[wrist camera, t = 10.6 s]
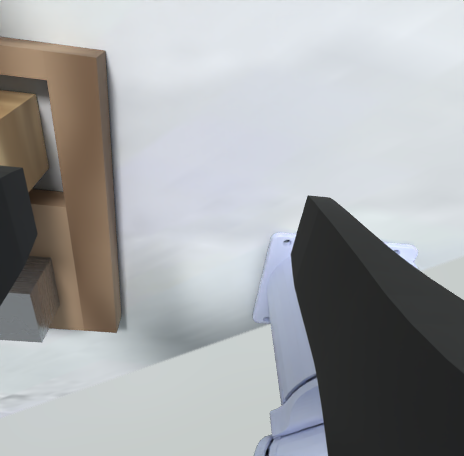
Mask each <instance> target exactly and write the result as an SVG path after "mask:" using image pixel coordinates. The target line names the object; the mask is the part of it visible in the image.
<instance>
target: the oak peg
mask: <svg viewBox="0 0 464 456" xmlns="http://www.w3.org/2000/svg"><path fill="white" fill-rule="evenodd" d="M0 165H1V166H11V167H21V168H23V170H24V175H25V179H26V184H27V188H28V193H29V191H30V190H31V189H32V188H33V187H34V186H35V184H36V183H37V182H38V181H39V180H40V178H41V177H42V176H43V175H44V174H45V172H46V171H47V170H48V169H49V165H48V159H47V154H46V148H45V142H44V137H43V131H42V125H41V120H40V114H39V109H38V103H37V97H36V94H32V93H23V92H14V91H6V90H0Z"/></svg>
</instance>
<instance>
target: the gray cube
mask: <svg viewBox="0 0 464 456" xmlns="http://www.w3.org/2000/svg"><path fill="white" fill-rule="evenodd" d="M59 306H60V301H59V295H58V290H57V285H56V280H55V275H54V270H53V265H52V260H51V258H50V257H38V256H29V257H28V259H27V261H26V264H25V266H24V268H23V270H22V271H21V273H20V275H19V276H18V278H17V280H16V281H15V283H14V285H13V286H12V288H11V290H10V291H9V293H8V295H7V296H6V298H5V299H4V301H3V303H2V304H1V306H0V340H12V341H28V342H43V339H44V337H45V335H46V333H47V331H48V329H49V327H50V325H51V323H52V321H53V318H54V316H55V314H56V312H57V310H58V308H59Z"/></svg>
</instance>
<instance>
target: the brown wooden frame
mask: <svg viewBox="0 0 464 456" xmlns="http://www.w3.org/2000/svg"><path fill="white" fill-rule="evenodd" d="M0 74H1V75H9V76H17V77H25V78H33V79H41V80H47V85H48V91H49V98H50V105H51V111H52V118H53V125H54V131H55V138H56V145H57V151H58V158H59V165H60V171H61V178H62V185H63V191H64V192H58V191H48V190H38V189H31V190H30V191H29V197H30V202H31V206H32V211H33V215H34V220H35V224H36V229H37V233H38V234H37V237H36V240H35V242H34V245H33V247H32V250H31V252H30V255H29V256H38V257H50V258H51V260H52V265H53V270H54V275H55V280H56V285H57V290H58V295H59V301H60V306H59V308H58V310H57V312H56V314H55V316H54V318H53V321H52V323H51V325H50V327H49V328H54V329H69V330H84V331H98V332H113V333H117V330H118V326H119V323H120V319H121V302H120V285H119V268H118V252H117V235H116V219H115V202H114V186H113V169H112V152H111V136H110V119H109V103H108V86H107V70H106V53H105V51H103V50H95V49H88V48H81V47H73V46H66V45H58V44H51V43H43V42H36V41H29V40H21V39H14V38H6V37H0Z"/></svg>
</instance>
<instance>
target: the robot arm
mask: <svg viewBox="0 0 464 456" xmlns="http://www.w3.org/2000/svg"><path fill="white" fill-rule="evenodd" d="M37 234H38V233H37V229H36V224H35V220H34V215H33V211H32V206H31V202H30V197H29V193H28V188H27V184H26V179H25V175H24V170H23V168H21V167H11V166H1V165H0V306H1V304H2V303H3V301H4V299H5V298H6V296H7V295H8V293H9V291H10V290H11V288H12V286H13V285H14V283H15V281H16V280H17V278H18V276H19V275H20V273H21V271H22V270H23V268H24V266H25V264H26V261H27V259H28V257H29V255H30V252H31V250H32V247H33V245H34V242H35V240H36V237H37ZM285 240H290V241H289V242H287V243H285V242H284V241H285ZM394 250H396V251H395V252H394ZM417 255H418V250H417V248H416V247H415V246H413V245H406V244H396V243H385V242H382V241H381V240H380V239H379V238H378V237H376V236H375V235H374V234H373V233H372V232H370V231H369V230H368V229H367V228H366V227H365V226H364V225H362V224H361V223H360V222H359V221H358V220H357V219H356V218H354V217H353V216H352V215H351V214H350V213H349V212H348V211H346V210H345V209H344V208H343V207H342V206H340V205H339V204H338V203H337V202H335V201H334V200H333V199H331V198H328V197H318V196H308V197H307V200H306V203H305V207H304V210H303V214H302V217H301V220H300V224H299V227H298V231H297V234H290V233H275V234H274V235H272V237H271V240H270V244H269V248H268V252H267V256H266V261H265V265H264V269H263V273H262V277H261V281H260V286H259V290H258V294H257V298H256V302H255V307H254V311H253V320H254V321H255V322H257V323H268V324H271V329H272V336H273V345H274V352H275V360H276V367H277V375H278V382H279V390H280V397H281V405H282V406H281V407H279V408H277V409H275V410H272V411H271V412H270V420H271V430H272V435H269V436H265V437H264V438H263V439H262V440H260V442H259V443H258V445H257V447H256V450H255V453H254V456H464V300H462V299H461V298H459V297H458V296H456V295H455V294H453V293H452V292H450V291H449V290H447V289H446V288H444V287H443V286H441V285H439V284H438V283H437V282H435V281H433V280H432V279H430V278H429V277H427V276H426V275H425V274H423V273H422V272H421V271H419V270H418V268H417V267H416V265H415V263H414V261H415V259H416V257H417Z"/></svg>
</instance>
